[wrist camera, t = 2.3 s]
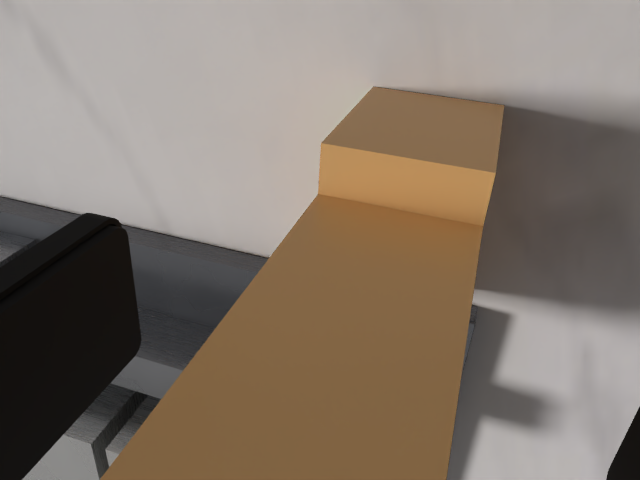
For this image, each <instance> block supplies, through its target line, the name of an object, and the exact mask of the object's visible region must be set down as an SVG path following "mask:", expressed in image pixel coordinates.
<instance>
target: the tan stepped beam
mask: <svg viewBox="0 0 640 480" xmlns="http://www.w3.org/2000/svg"><path fill="white" fill-rule="evenodd" d="M503 113H504V105H499V104H492V103H485V102H478V101H471V100H464V99H457V98H450V97H443V96H435V95H428V94H421V93H414V92H407V91H400V90H393V89H386V88H379V87H373V88H372V89H371V90H370V91H369V92H368V93H367V94H366V95H365V96H364V97H363V98H362V100H361V101H360V102H359V103H358V104H357V105H356V106H355V107H354V108H353V109H352V110H351V111H350V113H349V114H348V115H347V116H346V117H345V118H344V119H343V120H342V121H341V122H340V123H339V124H338V125H337V127H336V128H335V129H334V130H333V131H332V132H331V133H330V134H329V135H328V136H327V137H326V138H325V140H324V141H323V142H322V143H321V155H320V172H319V189H318V195H317V196H316V198H315V199H314V200H313V202H312V203H311V204H310V205H309V207H308V208H307V209H306V211H305V212H304V213H303V215H302V216H301V217H300V219H299V220H298V221H297V222H296V224H295V225H294V226H293V228H292V229H291V230H290V232H289V233H288V234H287V236H286V237H285V238H284V239H283V241H282V242H281V243H280V245H279V246H278V247H277V249H276V250H275V251H274V253H273V254H272V255H271V256H270V258H269V259H268V260H267V262H266V263H265V264H264V266H263V267H262V268H261V270H260V271H259V272H258V273H257V275H256V276H255V277H254V279H253V280H252V281H251V283H250V284H249V285H248V287H247V288H246V289H245V290H244V292H243V293H242V294H241V296H240V297H239V298H238V300H237V301H236V302H235V304H234V305H233V306H232V307H231V309H230V310H229V311H228V313H227V314H226V315H225V317H224V318H223V319H222V321H221V322H220V323H219V324H218V326H217V327H216V328H215V330H214V331H213V332H212V334H211V335H210V336H209V338H208V339H207V340H206V341H205V343H204V344H203V345H202V347H201V348H200V349H199V351H198V352H197V353H196V355H195V356H194V357H193V358H192V360H191V361H190V362H189V364H188V365H187V366H186V368H185V369H184V370H183V372H182V373H181V374H180V375H179V377H178V378H177V379H176V381H175V382H174V383H173V385H172V386H171V387H170V389H169V390H168V391H167V392H166V394H165V395H164V396H163V398H162V399H161V400H160V402H159V403H158V404H157V406H156V407H155V408H154V409H153V411H152V412H151V413H150V415H149V416H148V417H147V419H146V420H145V421H144V423H143V424H142V425H141V426H140V428H139V429H138V430H137V432H136V433H135V434H134V436H133V437H132V438H131V440H130V441H129V442H128V443H127V445H126V446H125V447H124V449H123V450H122V451H121V453H120V454H119V455H118V457H117V458H116V459H115V460H114V462H113V463H112V464H111V466H110V467H109V468H108V470H107V471H106V472H105V474H104V475H103V476H102V477H101V479H100V480H446V478H447V472H448V465H449V458H450V451H451V444H452V437H453V430H454V423H455V417H456V410H457V403H458V396H459V389H460V382H461V375H462V368H463V362H464V355H465V348H466V341H467V334H468V327H469V320H470V313H471V306H472V300H473V293H474V286H475V279H476V272H477V265H478V258H479V251H480V245H481V238H482V231H483V225H484V221H485V217H486V212H487V208H488V204H489V200H490V196H491V191H492V187H493V183H494V179H495V175H496V168H497V160H498V152H499V144H500V136H501V128H502V121H503Z"/></svg>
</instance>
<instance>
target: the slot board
mask: <svg viewBox="0 0 640 480" xmlns="http://www.w3.org/2000/svg"><path fill="white" fill-rule="evenodd" d="M80 216H81V215H76V214H72V213H68V212H63V211H59V210H55V209H50V208H46V207H42V206H37V205H33V204H29V203H24V202H20V201H16V200H11V199H7V198H3V197H0V267H1V266H3V265H5V264H6V263H8V262H9V261H11V260H12V259H14V258H15V257H17V256H19V255H20V254H22V253H23V252H25V251H26V250H28V249H30V248H31V247H33V246H34V245H36V244H37V243H39V242H41V241H42V240H44V239H45V238H47V237H48V236H50V235H51V234H53V233H55V232H56V231H58V230H59V229H61V228H62V227H64V226H66V225H67V224H69V223H70V222H72V221H73V220H75V219H76V218H78V217H80ZM121 226H122V228H123V229H125V230H126V232H127V234H128V239H129V246H130V254H131V262H132V269H133V277H134V284H135V292H136V300H137V307H138V315H139V322H140V330H141V345H140V348H139V351H138V352H137V354H136V355H135V357H134V358H133V359H132V360H131V361H130V362H129V363H128V364H127V366H126V367H125V368H124V369H123V370H122V371H121V372H120V373H119V374H118V375H117V377H116V378H115V379H114V380H113V381H112V382H111V384H115V385H118V386H121V387H124V388H128V389H131V390H134V391H137V392H140V393H144V394H147V395H150V396H153V397H156V398H160V399H162V398H163V396H164V395H165V394H166V392H167V391H168V390H169V389H170V387H171V386H172V385H173V383H174V382H175V381H176V379H177V378H178V377H179V375H180V374H181V373H182V372H183V370H184V369H185V368H186V366H187V365H188V364H189V362H190V361H191V360H192V358H193V357H194V356H195V355H196V353H197V352H198V351H199V349H200V348H201V347H202V345H203V344H204V343H205V341H206V340H207V339H208V338H209V336H210V335H211V334H212V332H213V331H214V330H215V328H216V327H217V326H218V324H219V323H220V322H221V321H222V319H223V318H224V317H225V315H226V314H227V313H228V311H229V310H230V309H231V307H232V306H233V305H234V304H235V302H236V301H237V300H238V298H239V297H240V296H241V294H242V293H243V292H244V290H245V289H246V288H247V287H248V285H249V284H250V283H251V281H252V280H253V279H254V277H255V276H256V275H257V273H258V272H259V271H260V270H261V268H262V267H263V266H264V264H265V263H266V262H267V260H268V259H267V258H263V257H259V256H254V255H250V254H246V253H241V252H237V251H233V250H228V249H224V248H220V247H215V246H211V245H207V244H202V243H198V242H194V241H189V240H185V239H181V238H176V237H172V236H168V235H163V234H159V233H155V232H150V231H146V230H142V229H137V228H133V227H129V226H124V225H121ZM476 312H477V307H476V306H471V313H470V320H469V327H468V334H467V341H466V348H465V355H464V362H463V368H462V373H463V369H464V365H465V361H466V357H467V353H468V349H469V346H470V342H471V338H472V334H473V330H474V326H475V320H476ZM461 377H462V375H461Z"/></svg>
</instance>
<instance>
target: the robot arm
mask: <svg viewBox="0 0 640 480" xmlns="http://www.w3.org/2000/svg"><path fill="white" fill-rule="evenodd" d="M140 345H141V330H140V322H139V315H138V307H137V300H136V292H135V284H134V277H133V269H132V262H131V254H130V246H129V239H128V234H127V232H126V230H125V229H123V228H122V226H121V224H120V222H119V221H118V220H117V219H115V218H110V217H106V216H101V215H97V214H93V213H86V214H83V215H81V216H80V217H78V218H76V219H75V220H73V221H72V222H70V223H69V224H67V225H66V226H64V227H62V228H61V229H59V230H58V231H56V232H55V233H53V234H51V235H50V236H48V237H47V238H45V239H44V240H42V241H41V242H39V243H37V244H36V245H34V246H33V247H31V248H30V249H28V250H26V251H25V252H23V253H22V254H20V255H19V256H17V257H15V258H14V259H12V260H11V261H9V262H8V263H6V264H5V265H3V266H1V267H0V480H22V479H23V478H24V477H25V476H26V475H27V474H28V473H29V472H30V471H31V469H32V468H33V467H34V466H35V465H36V464H37V463H38V462H39V461H40V460H41V459H42V457H43V456H44V455H45V454H46V453H47V452H48V451H49V450H50V449H51V448H52V446H53V445H54V444H55V443H56V442H57V441H58V440H59V439H60V438H61V437H62V436H63V434H64V433H65V432H66V431H67V430H68V429H69V428H70V427H71V426H72V425H73V424H74V422H75V421H76V420H77V419H78V418H79V417H80V416H81V415H82V414H83V413H84V412H85V410H86V409H87V408H88V407H89V406H90V405H91V404H92V403H93V402H94V401H95V399H96V398H97V397H98V396H99V395H100V394H101V393H102V392H103V391H104V390H105V389H106V387H107V386H108V385H109V384H110V383H111V382H112V381H113V380H114V379H115V378H116V377H117V375H118V374H119V373H120V372H121V371H122V370H123V369H124V368H125V367H126V366H127V364H128V363H129V362H130V361H131V360H132V359H133V358H134V357H135V355H136V354H137V352H138V351H139V348H140ZM607 480H640V407H639V409H638V411H637V413H636V415H635V417H634V419H633V421H632V423H631V425H630V427H629V429H628V431H627V433H626V435H625V438H624V440H623V442H622V444H621V446H620V448H619V450H618V452H617V454H616V456H615V458H614V460H613V462H612V464H611V466H610V468H609V471H608V474H607Z"/></svg>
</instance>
